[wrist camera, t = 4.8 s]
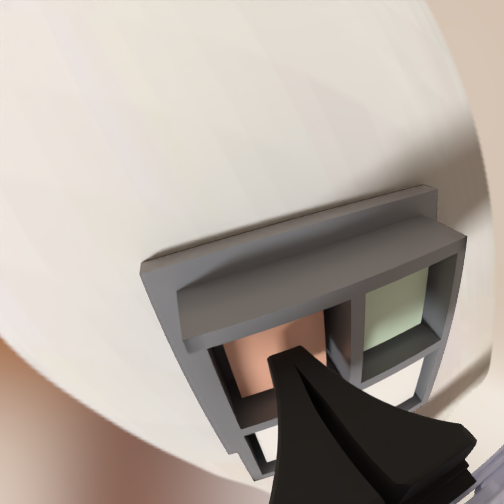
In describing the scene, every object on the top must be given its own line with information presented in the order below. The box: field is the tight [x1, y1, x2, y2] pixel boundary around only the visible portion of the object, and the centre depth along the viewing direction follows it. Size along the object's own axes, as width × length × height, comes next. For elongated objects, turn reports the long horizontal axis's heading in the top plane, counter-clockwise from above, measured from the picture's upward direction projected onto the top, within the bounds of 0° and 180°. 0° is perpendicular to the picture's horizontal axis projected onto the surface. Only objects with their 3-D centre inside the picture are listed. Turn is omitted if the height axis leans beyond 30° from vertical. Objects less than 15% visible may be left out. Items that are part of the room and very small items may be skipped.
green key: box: [363, 267, 429, 351], centre depth 14 cm, size 4×4×2 cm
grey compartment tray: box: [140, 185, 467, 481], centre depth 14 cm, size 14×14×4 cm
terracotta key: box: [223, 310, 327, 398], centre depth 13 cm, size 4×4×2 cm
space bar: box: [255, 357, 424, 462], centre depth 15 cm, size 4×10×2 cm, turn 102°
